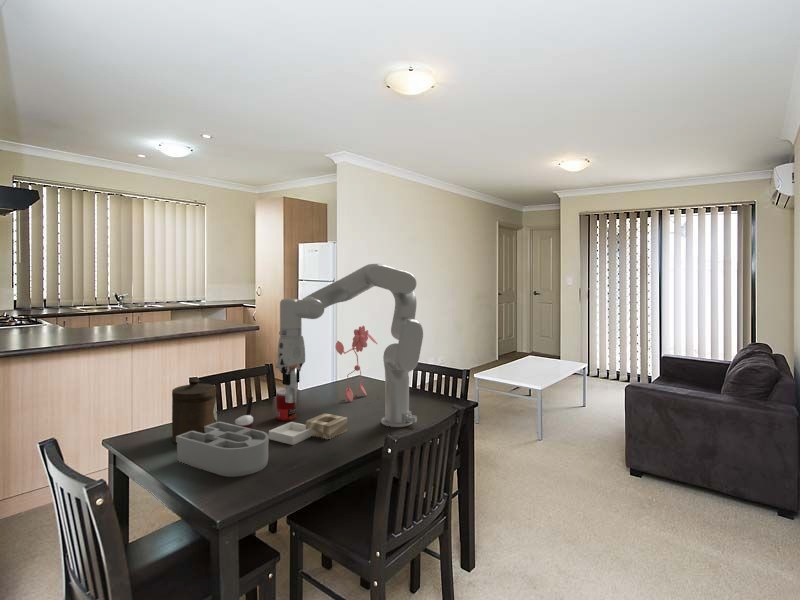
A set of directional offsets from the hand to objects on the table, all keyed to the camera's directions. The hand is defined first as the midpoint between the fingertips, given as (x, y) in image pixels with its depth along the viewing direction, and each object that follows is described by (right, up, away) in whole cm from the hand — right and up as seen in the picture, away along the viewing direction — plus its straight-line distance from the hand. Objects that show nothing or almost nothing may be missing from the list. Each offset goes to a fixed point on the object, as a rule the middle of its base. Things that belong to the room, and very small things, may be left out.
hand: (291, 382), depth 166 cm
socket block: (+12, -20, +6) cm, 24 cm away
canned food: (-7, -19, +23) cm, 30 cm away
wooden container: (-35, -20, +1) cm, 40 cm away
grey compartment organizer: (-15, -22, -21) cm, 33 cm away
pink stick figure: (+21, -17, +50) cm, 57 cm away
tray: (0, -20, +1) cm, 20 cm away
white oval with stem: (-19, -20, +6) cm, 28 cm away
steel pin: (0, -7, 0) cm, 7 cm away
